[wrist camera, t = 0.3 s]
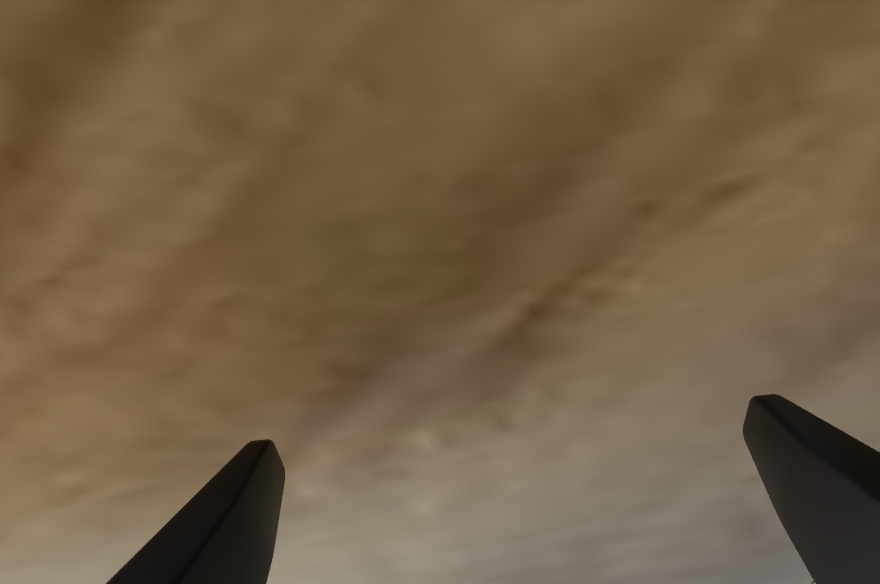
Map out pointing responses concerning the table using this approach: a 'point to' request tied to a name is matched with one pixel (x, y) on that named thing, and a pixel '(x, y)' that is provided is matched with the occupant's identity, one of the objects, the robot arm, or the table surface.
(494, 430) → the table surface
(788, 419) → the robot arm
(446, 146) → the table surface
